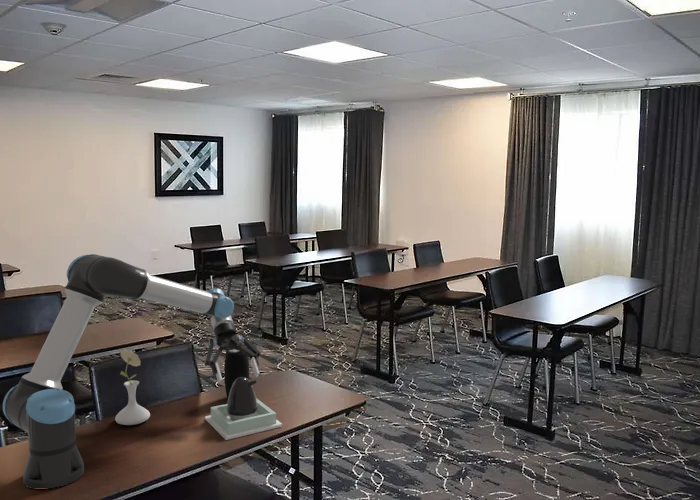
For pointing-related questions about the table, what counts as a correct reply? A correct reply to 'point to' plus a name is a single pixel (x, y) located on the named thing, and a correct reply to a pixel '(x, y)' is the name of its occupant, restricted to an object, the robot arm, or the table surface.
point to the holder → (242, 421)
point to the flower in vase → (131, 395)
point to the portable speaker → (235, 368)
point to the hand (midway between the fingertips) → (239, 378)
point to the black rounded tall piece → (242, 399)
